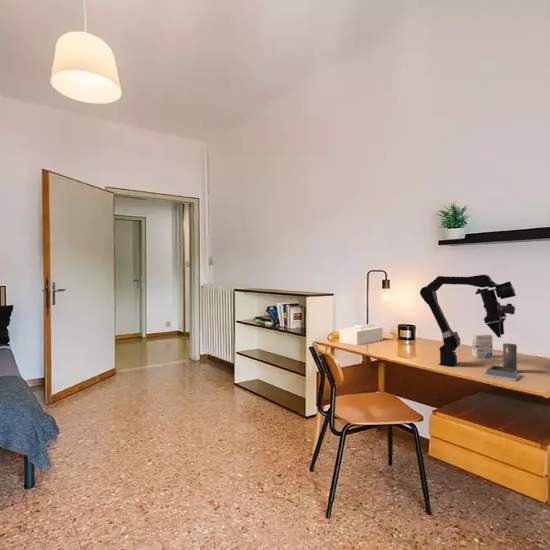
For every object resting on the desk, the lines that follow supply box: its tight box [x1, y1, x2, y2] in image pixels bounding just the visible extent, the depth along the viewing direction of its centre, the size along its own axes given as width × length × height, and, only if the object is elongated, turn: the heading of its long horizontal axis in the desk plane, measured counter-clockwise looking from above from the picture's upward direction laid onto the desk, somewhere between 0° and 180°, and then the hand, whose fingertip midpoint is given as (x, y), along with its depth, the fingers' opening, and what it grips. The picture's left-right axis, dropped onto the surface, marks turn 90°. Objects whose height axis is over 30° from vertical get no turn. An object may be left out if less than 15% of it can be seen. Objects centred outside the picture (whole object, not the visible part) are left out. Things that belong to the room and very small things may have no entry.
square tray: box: [482, 364, 522, 382], centre depth 168 cm, size 12×11×3 cm
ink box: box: [471, 333, 493, 359], centre depth 204 cm, size 9×5×12 cm, turn 92°
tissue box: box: [338, 323, 383, 346], centre depth 253 cm, size 14×25×11 cm, turn 129°
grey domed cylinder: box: [502, 343, 518, 369], centre depth 175 cm, size 5×5×12 cm
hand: (501, 335), depth 175 cm, fingers open, 9 cm apart
